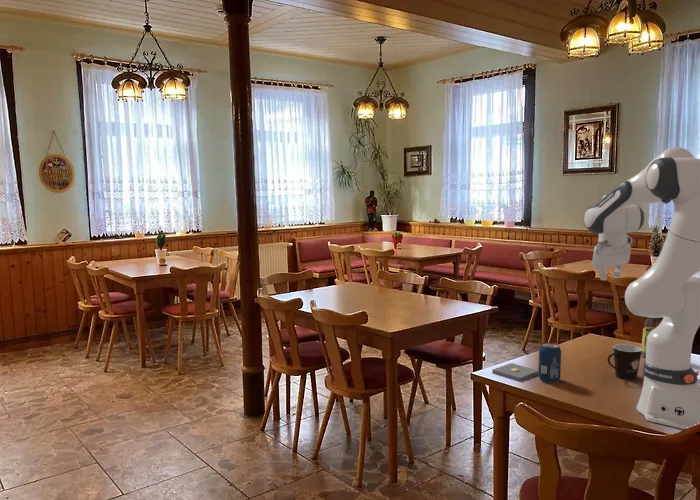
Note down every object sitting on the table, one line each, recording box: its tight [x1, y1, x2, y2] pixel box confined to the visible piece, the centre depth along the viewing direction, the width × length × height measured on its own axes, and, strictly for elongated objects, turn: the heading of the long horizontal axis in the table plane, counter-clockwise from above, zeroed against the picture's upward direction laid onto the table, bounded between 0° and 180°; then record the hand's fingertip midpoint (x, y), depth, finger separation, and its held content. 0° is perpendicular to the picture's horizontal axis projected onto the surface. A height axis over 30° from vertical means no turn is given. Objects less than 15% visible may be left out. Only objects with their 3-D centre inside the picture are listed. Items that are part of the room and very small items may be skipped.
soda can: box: [537, 342, 562, 384], centre depth 190 cm, size 7×7×12 cm
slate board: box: [491, 362, 538, 382], centre depth 197 cm, size 11×11×1 cm
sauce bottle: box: [641, 317, 662, 359], centre depth 212 cm, size 6×6×20 cm
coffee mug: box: [607, 343, 642, 381], centre depth 192 cm, size 12×9×10 cm
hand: (610, 278), depth 203 cm, fingers open, 8 cm apart
